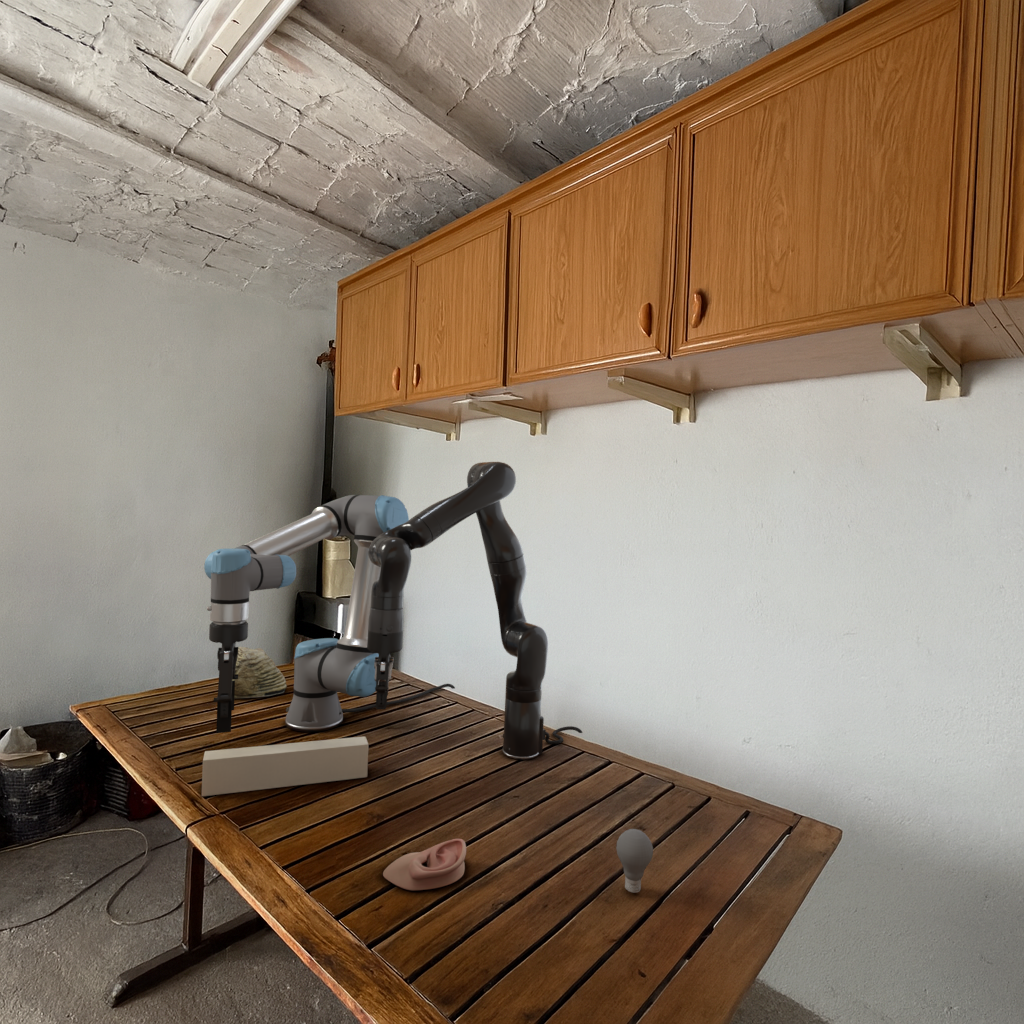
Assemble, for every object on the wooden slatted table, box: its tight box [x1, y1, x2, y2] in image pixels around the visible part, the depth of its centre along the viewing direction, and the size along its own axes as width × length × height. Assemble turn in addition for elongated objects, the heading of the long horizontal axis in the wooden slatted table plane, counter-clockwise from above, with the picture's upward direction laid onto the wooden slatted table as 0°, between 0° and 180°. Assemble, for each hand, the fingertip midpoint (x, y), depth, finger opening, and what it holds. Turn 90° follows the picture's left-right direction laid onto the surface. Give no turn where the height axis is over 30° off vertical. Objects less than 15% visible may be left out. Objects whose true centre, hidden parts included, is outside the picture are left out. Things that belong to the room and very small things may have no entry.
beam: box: [201, 735, 369, 797], centre depth 140 cm, size 34×5×8 cm, turn 111°
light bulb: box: [615, 828, 654, 894], centre depth 106 cm, size 6×6×10 cm
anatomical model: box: [382, 838, 467, 891], centre depth 108 cm, size 13×4×12 cm
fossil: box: [232, 646, 288, 699], centre depth 198 cm, size 9×18×15 cm, turn 132°
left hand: (225, 720), depth 135 cm, fingers open, 13 cm apart
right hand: (381, 702), depth 138 cm, fingers open, 8 cm apart
